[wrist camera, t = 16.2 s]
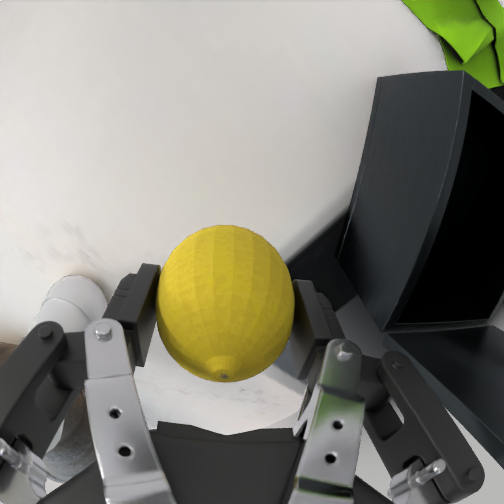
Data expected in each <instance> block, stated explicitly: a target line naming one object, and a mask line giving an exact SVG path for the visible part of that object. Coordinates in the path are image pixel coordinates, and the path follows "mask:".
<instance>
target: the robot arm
mask: <svg viewBox="0 0 504 504" xmlns="http://www.w3.org/2000/svg"><path fill="white" fill-rule="evenodd" d="M160 274H161V268H160V265H154V264H146V263H143V264H142V265H141V267H140V269H139V271H138V273H137V274H128V275H127V276H126V277H124V278H123V279H122V280H121V281H120V283H119V285H118V287H117V289H116V291H115V293H114V296H113V297H112V298H111V300H110V302H109V304H108V306H107V308H106V310H105V312H104V314H103V316H102V318H101V319H97V320H95V321H93V322H91V323H90V324H89V325H88V326H87V328H86V329H85V331H82V332H67V333H64V330H63V328H62V326H61V325H60V324H59V323H57V322H54V321H44V322H41V323H39V324H37V325H36V326H35V327H34V328H33V329H32V330H31V331H30V332H29V333H28V335H27V336H26V337H25V338H24V339H23V340H22V341H21V343H20V344H19V345H18V346H17V347H16V349H15V350H14V351H13V352H12V353H11V355H10V356H9V357H8V358H7V360H6V361H5V362H4V363H3V365H2V366H1V367H0V501H1V502H2V503H3V504H454V503H456V502H458V501H460V500H462V499H464V498H466V497H468V496H470V495H471V494H473V493H475V492H477V491H478V490H479V489H480V488H481V486H482V485H483V482H484V478H485V474H484V469H483V467H482V465H481V463H480V461H479V460H478V458H477V456H476V455H475V454H474V452H473V450H472V448H471V447H470V445H469V444H468V442H467V441H466V439H465V438H464V436H463V434H462V433H461V431H460V430H459V428H458V427H457V425H456V424H455V422H454V421H453V419H452V418H451V417H450V415H449V414H448V412H447V411H446V409H445V408H444V406H443V405H442V403H441V402H440V400H439V399H438V398H437V396H436V395H435V393H434V392H433V391H432V389H431V388H430V386H429V385H428V384H427V382H426V381H425V379H424V378H423V377H422V375H421V374H420V373H419V371H418V370H417V369H416V367H415V366H414V365H413V363H412V362H411V361H410V359H409V358H408V357H407V356H406V355H404V354H402V353H400V352H398V351H388V352H386V353H385V354H384V355H383V356H382V358H381V359H378V358H373V357H369V356H365V355H362V352H361V350H360V349H359V347H358V346H357V345H356V344H355V343H353V342H351V341H349V340H346V338H345V336H344V333H343V331H342V329H341V326H340V324H339V322H338V320H337V317H336V315H335V312H334V310H333V308H332V306H331V303H330V301H329V300H328V299H327V298H326V297H325V296H324V295H323V294H322V293H317V292H316V290H315V288H314V285H313V283H312V281H308V280H296V279H295V280H293V282H292V286H293V291H294V298H295V307H294V318H293V327H292V332H291V335H290V337H289V343H290V348H291V353H292V357H293V362H294V366H295V371H296V376H297V379H307V383H308V385H307V387H306V389H305V391H304V395H303V398H302V401H301V405H300V408H299V411H298V414H297V417H296V421H295V424H294V426H293V428H276V429H257V430H253V431H248V432H243V433H238V434H233V435H222V434H219V433H215V432H212V431H208V430H205V429H202V428H198V427H195V426H192V425H185V424H176V423H169V422H162V421H158V425H157V429H152V430H149V429H148V426H147V423H146V420H145V416H144V413H143V410H142V406H141V403H140V399H139V396H138V392H137V388H136V384H135V381H134V377H133V374H134V371H135V367H136V366H140V367H144V365H145V361H146V357H147V353H148V349H149V346H150V342H151V338H152V335H153V331H154V327H155V324H156V320H157V319H156V312H155V297H156V291H157V286H158V282H159V277H160ZM82 388H85V395H86V403H87V410H88V417H89V423H90V428H91V434H92V439H93V444H94V448H95V453H96V457H97V460H96V461H95V462H93V463H92V464H90V465H89V466H88V467H86V468H85V469H84V470H82V471H81V472H79V473H78V474H77V475H75V476H74V477H72V478H71V479H70V480H68V481H67V482H65V483H64V484H62V485H61V486H59V487H58V488H56V489H55V490H54V491H52V492H50V493H49V494H46V491H45V482H46V480H47V477H46V476H47V471H46V466H45V464H44V462H43V458H44V456H45V454H46V452H47V450H48V448H49V446H50V444H51V442H52V440H53V438H54V437H55V435H56V433H57V431H58V429H59V427H60V426H61V424H62V422H63V420H64V418H65V417H66V415H67V413H68V411H69V410H70V408H71V406H72V404H73V403H74V401H75V399H76V398H77V396H78V394H79V393H80V391H81V389H82ZM392 398H393V400H394V402H395V403H396V405H397V406H398V408H399V409H400V411H401V413H402V414H403V417H404V424H403V423H402V422H401V420H400V418H399V417H398V415H397V414H396V412H395V411H394V409H393V407H392V405H391V404H390V402H389V401H390V400H391V399H392ZM363 426H364V427H365V429H366V431H367V433H368V435H369V437H370V439H371V440H372V442H373V444H374V446H375V448H376V450H377V452H378V454H379V455H380V457H381V459H382V461H383V463H384V465H385V467H386V469H387V471H388V472H389V474H390V476H391V478H392V480H391V483H390V488H389V490H388V496H389V497H390V498H392V501H390V500H389V499H388V498H386V497H385V496H383V495H382V494H381V493H379V492H378V491H377V490H375V489H374V488H372V487H371V486H370V485H368V484H367V483H366V482H364V481H363V480H362V479H360V478H359V477H358V476H357V475H355V471H356V465H357V460H358V454H359V447H360V441H361V434H362V427H363Z"/></svg>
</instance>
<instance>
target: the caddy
mask: <svg viewBox="0 0 504 504" xmlns="http://www.w3.org/2000/svg"><path fill="white" fill-rule="evenodd" d="M335 258H336V259H337V260H338V262H339V264H340V265H341V267H342V269H343V270H344V272H345V273H346V275H347V277H348V278H349V280H350V281H351V283H352V285H353V286H354V288H355V290H356V291H357V293H358V295H359V296H360V298H361V300H362V301H363V303H364V305H365V306H366V308H367V310H368V311H369V313H370V315H371V317H372V318H373V320H374V322H375V323H376V325H377V327H378V329H379V331H380V332H381V333H382V334H383V333H408V332H426V331H440V330H452V329H463V328H473V327H481V326H488V325H489V324H490V322H491V320H492V319H493V317H494V315H495V313H496V312H497V310H498V309H499V307H500V305H501V303H502V301H503V299H504V101H502V100H501V99H500V98H499V97H498V96H497V95H495V94H494V93H493V92H492V91H491V90H489V89H488V88H487V87H486V86H484V85H483V84H482V83H481V82H479V81H478V80H477V79H475V78H474V77H473V76H471V75H470V74H469V73H467V72H466V71H464V70H450V71H431V72H419V73H409V74H400V75H392V76H385V77H378V78H377V85H376V90H375V96H374V102H373V107H372V112H371V117H370V122H369V127H368V132H367V137H366V141H365V146H364V150H363V155H362V159H361V163H360V167H359V172H358V176H357V180H356V183H355V187H354V191H353V195H352V199H351V202H350V206H349V210H348V213H347V217H346V220H345V224H344V227H343V231H342V234H341V237H340V241H339V244H338V247H337V250H336V254H335Z"/></svg>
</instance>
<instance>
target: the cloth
mask: <svg viewBox="0 0 504 504" xmlns="http://www.w3.org/2000/svg"><path fill="white" fill-rule="evenodd" d="M402 1H403V2H404V3H405V4H406V5H407V6H408V7H409V8H410V9H411V11H412V12H413V13H414V14H415V15H416V16H417V17H418V18H419V19H420V20H421V21H422V23H423V24H424V25H425V26H426V27H427V28H429V29H431V30H432V31H434V32H435V33H437V34H438V37H439V40H440V43H441V45H442V48H443V51H444V54H445V58H446V63H447V66H448V70H449V71H450V70H464V71H466V72H467V73H469V74H470V75H471V76H473V77H474V78H475V79H477V80H478V81H479V82H481V83H482V84H483V85H484V86H486V87H487V88H488V89H489V88H492V87H497V86H502V85H504V8H503V7H502V6H501V5H500V3H499V1H498V0H402Z"/></svg>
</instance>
